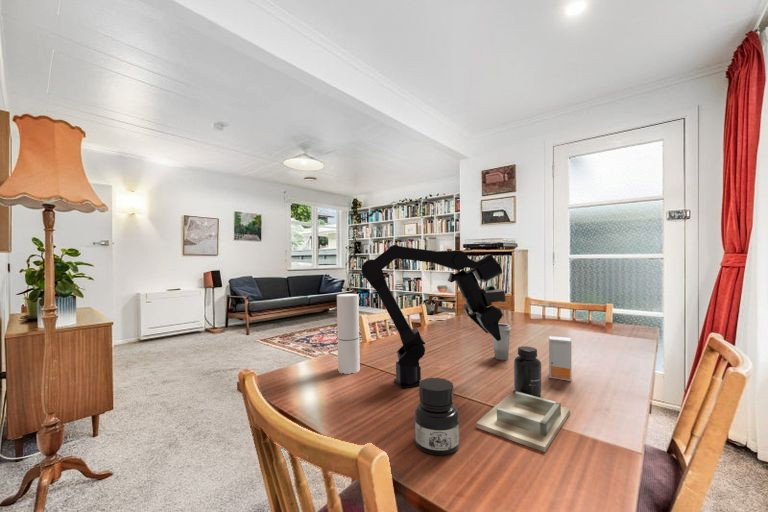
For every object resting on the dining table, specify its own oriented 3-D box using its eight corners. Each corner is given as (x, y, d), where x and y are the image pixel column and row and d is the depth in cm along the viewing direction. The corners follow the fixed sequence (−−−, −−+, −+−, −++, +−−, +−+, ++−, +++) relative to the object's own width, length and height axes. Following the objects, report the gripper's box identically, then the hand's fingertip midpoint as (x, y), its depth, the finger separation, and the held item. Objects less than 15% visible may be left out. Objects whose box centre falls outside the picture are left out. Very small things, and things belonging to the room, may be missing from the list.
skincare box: (549, 378, 98) (548, 338, 98) (549, 373, 102) (548, 335, 102) (572, 381, 96) (571, 341, 95) (571, 376, 99) (571, 337, 99)
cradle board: (476, 427, 71) (475, 411, 71) (510, 396, 86) (510, 383, 86) (544, 452, 62) (544, 434, 62) (570, 413, 77) (569, 398, 77)
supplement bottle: (538, 400, 84) (537, 353, 84) (511, 393, 88) (510, 349, 88) (544, 391, 89) (543, 347, 89) (518, 385, 94) (517, 343, 94)
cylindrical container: (361, 366, 112) (360, 293, 112) (357, 374, 105) (356, 296, 104) (340, 366, 112) (339, 293, 112) (335, 373, 105) (334, 296, 105)
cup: (487, 356, 120) (486, 324, 120) (501, 354, 123) (500, 322, 123) (501, 362, 114) (501, 327, 113) (515, 359, 116) (515, 325, 116)
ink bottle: (411, 454, 62) (410, 391, 62) (414, 430, 71) (413, 374, 71) (463, 458, 61) (462, 394, 61) (460, 433, 69) (459, 376, 69)
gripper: (507, 279, 88) (532, 331, 88) (484, 275, 106) (505, 318, 107) (470, 298, 87) (495, 350, 88) (453, 290, 106) (474, 333, 106)
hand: (493, 336), depth 97 cm, fingers open, 9 cm apart
